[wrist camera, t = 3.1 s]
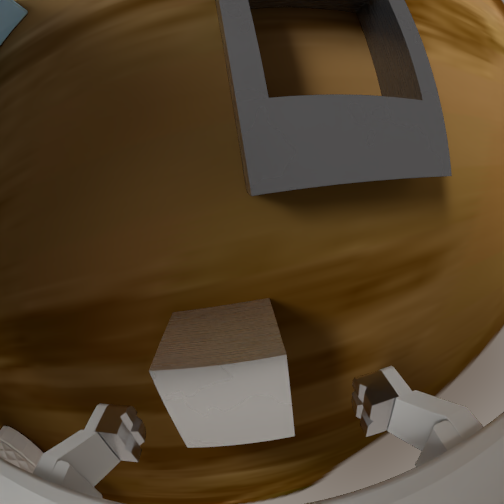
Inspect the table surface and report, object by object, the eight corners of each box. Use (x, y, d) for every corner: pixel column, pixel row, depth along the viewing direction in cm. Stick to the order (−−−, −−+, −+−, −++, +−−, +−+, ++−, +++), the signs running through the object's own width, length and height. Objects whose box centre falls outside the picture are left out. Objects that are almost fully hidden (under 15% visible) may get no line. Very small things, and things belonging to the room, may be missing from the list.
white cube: (196, 383, 14) (187, 447, 9) (173, 311, 12) (148, 370, 8) (279, 372, 14) (294, 436, 9) (269, 297, 12) (286, 354, 8)
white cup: (48, 472, 17) (26, 526, 7) (-2, 432, 15) (-32, 481, 6) (61, 460, 16) (33, 528, 6) (1, 411, 14) (-40, 471, 5)
